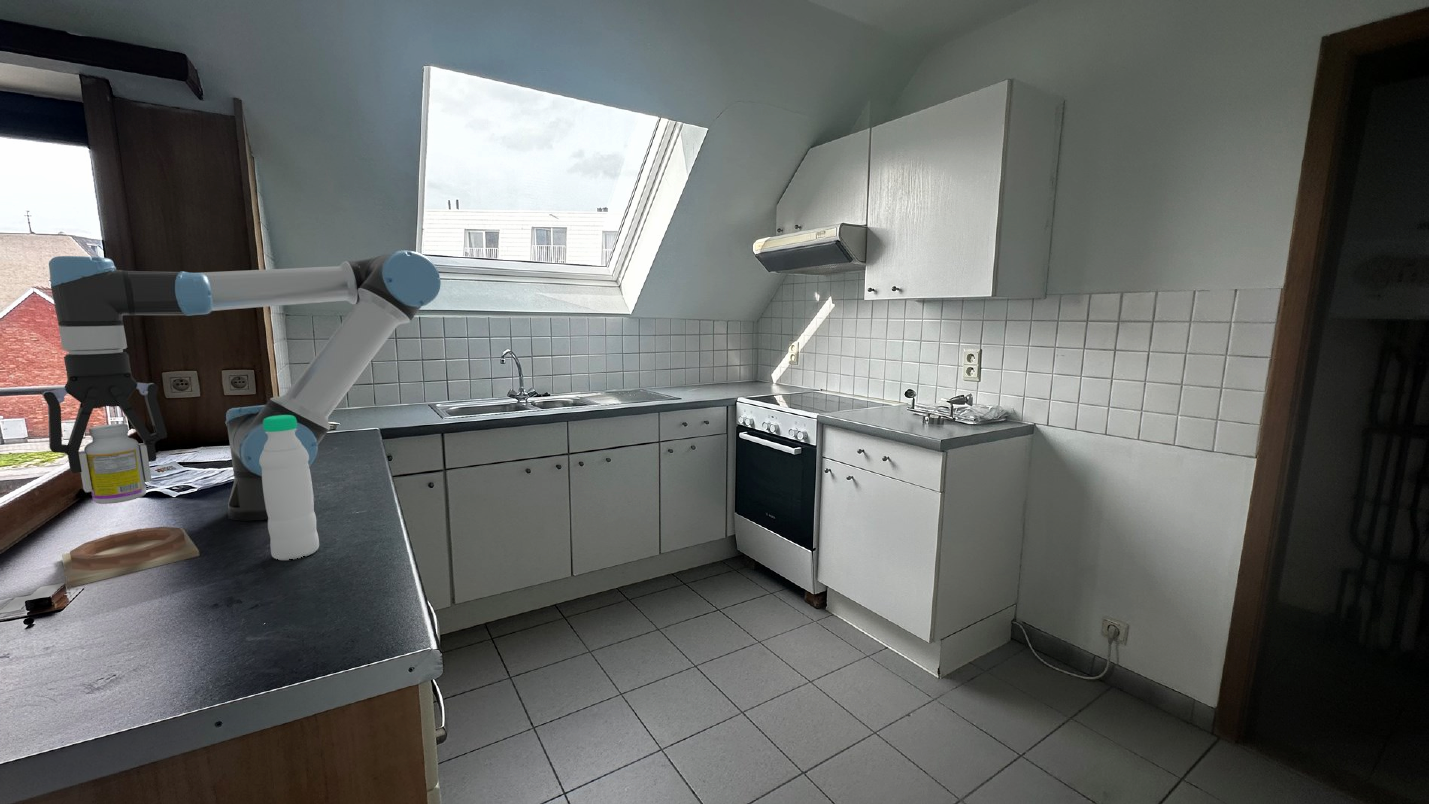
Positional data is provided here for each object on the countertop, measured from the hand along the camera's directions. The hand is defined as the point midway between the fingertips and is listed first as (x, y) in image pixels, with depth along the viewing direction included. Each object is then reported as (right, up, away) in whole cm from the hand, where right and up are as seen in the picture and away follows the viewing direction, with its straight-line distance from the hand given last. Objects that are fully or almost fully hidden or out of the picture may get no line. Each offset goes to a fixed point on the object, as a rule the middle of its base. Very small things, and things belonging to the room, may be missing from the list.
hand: (118, 484), depth 103 cm
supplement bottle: (0, -3, 0) cm, 3 cm away
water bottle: (+28, -13, +4) cm, 31 cm away
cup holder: (0, -13, +2) cm, 13 cm away
